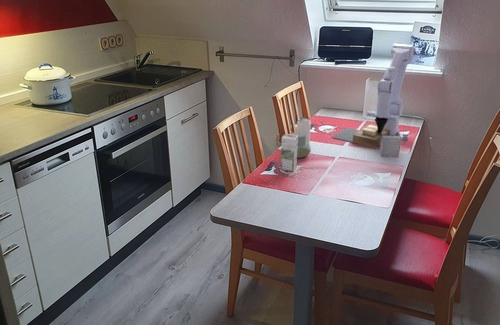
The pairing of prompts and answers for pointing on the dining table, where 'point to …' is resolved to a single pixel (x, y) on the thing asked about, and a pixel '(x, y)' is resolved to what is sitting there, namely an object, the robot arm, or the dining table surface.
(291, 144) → the syrup box
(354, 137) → the brown shallow box
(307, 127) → the can
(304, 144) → the air freshener
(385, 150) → the medicine box
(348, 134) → the mat
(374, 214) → the dining table surface
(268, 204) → the dining table surface
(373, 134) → the tile
